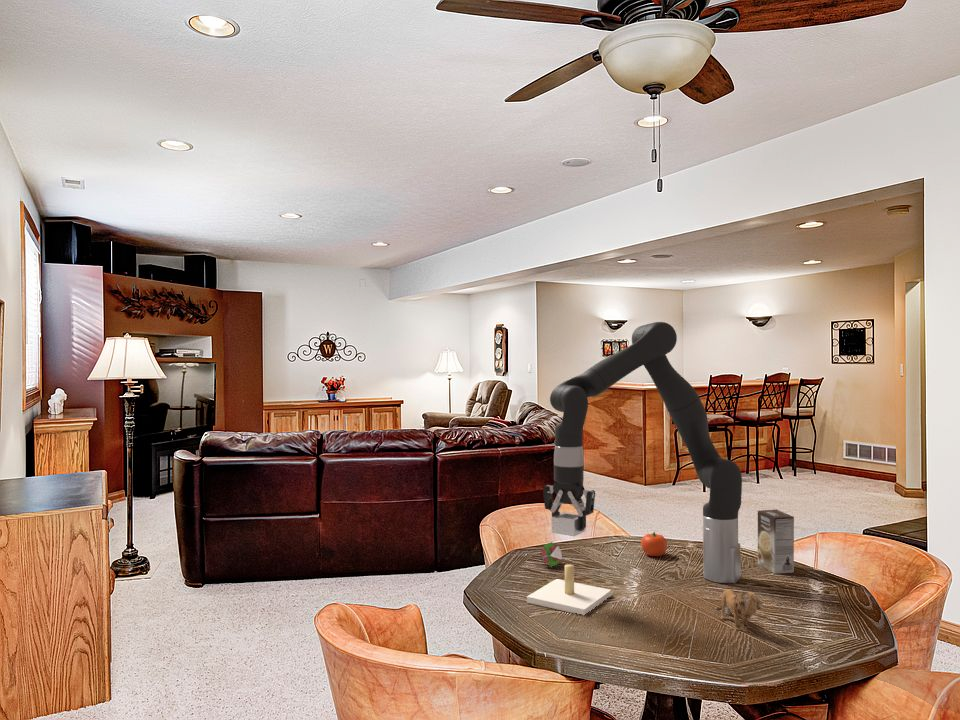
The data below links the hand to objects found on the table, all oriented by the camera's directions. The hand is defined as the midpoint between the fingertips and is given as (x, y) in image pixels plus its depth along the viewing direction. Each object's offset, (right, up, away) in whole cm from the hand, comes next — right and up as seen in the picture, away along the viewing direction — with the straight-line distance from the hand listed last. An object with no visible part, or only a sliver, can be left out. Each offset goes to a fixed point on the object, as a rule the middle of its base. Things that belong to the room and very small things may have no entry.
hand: (568, 528), depth 174 cm
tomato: (+31, -18, +37) cm, 52 cm away
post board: (0, -18, 0) cm, 18 cm away
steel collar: (0, -1, 0) cm, 1 cm away
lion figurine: (+37, -18, -17) cm, 44 cm away
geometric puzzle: (-1, -18, +28) cm, 33 cm away
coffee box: (+63, -17, +23) cm, 69 cm away
